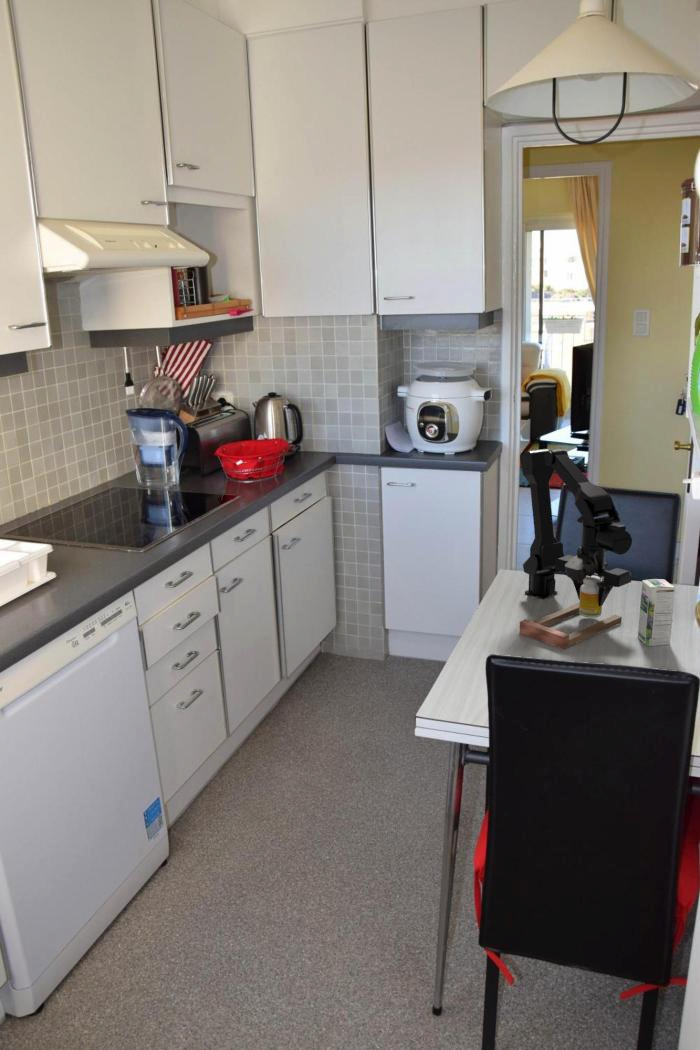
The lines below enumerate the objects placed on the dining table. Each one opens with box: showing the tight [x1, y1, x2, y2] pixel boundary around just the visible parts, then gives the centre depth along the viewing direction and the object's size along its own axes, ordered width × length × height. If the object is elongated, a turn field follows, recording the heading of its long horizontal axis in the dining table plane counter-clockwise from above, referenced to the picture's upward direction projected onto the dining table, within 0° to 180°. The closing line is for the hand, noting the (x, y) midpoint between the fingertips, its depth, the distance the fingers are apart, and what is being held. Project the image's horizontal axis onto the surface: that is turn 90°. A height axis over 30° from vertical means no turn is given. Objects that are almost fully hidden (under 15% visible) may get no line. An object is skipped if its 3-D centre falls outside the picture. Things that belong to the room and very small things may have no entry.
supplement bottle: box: [578, 575, 603, 619], centre depth 210 cm, size 5×5×10 cm
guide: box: [519, 602, 623, 650], centre depth 207 cm, size 13×23×3 cm, turn 129°
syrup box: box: [637, 578, 676, 647], centre depth 196 cm, size 6×6×14 cm
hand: (590, 602), depth 211 cm, fingers closed on supplement bottle, 5 cm apart
